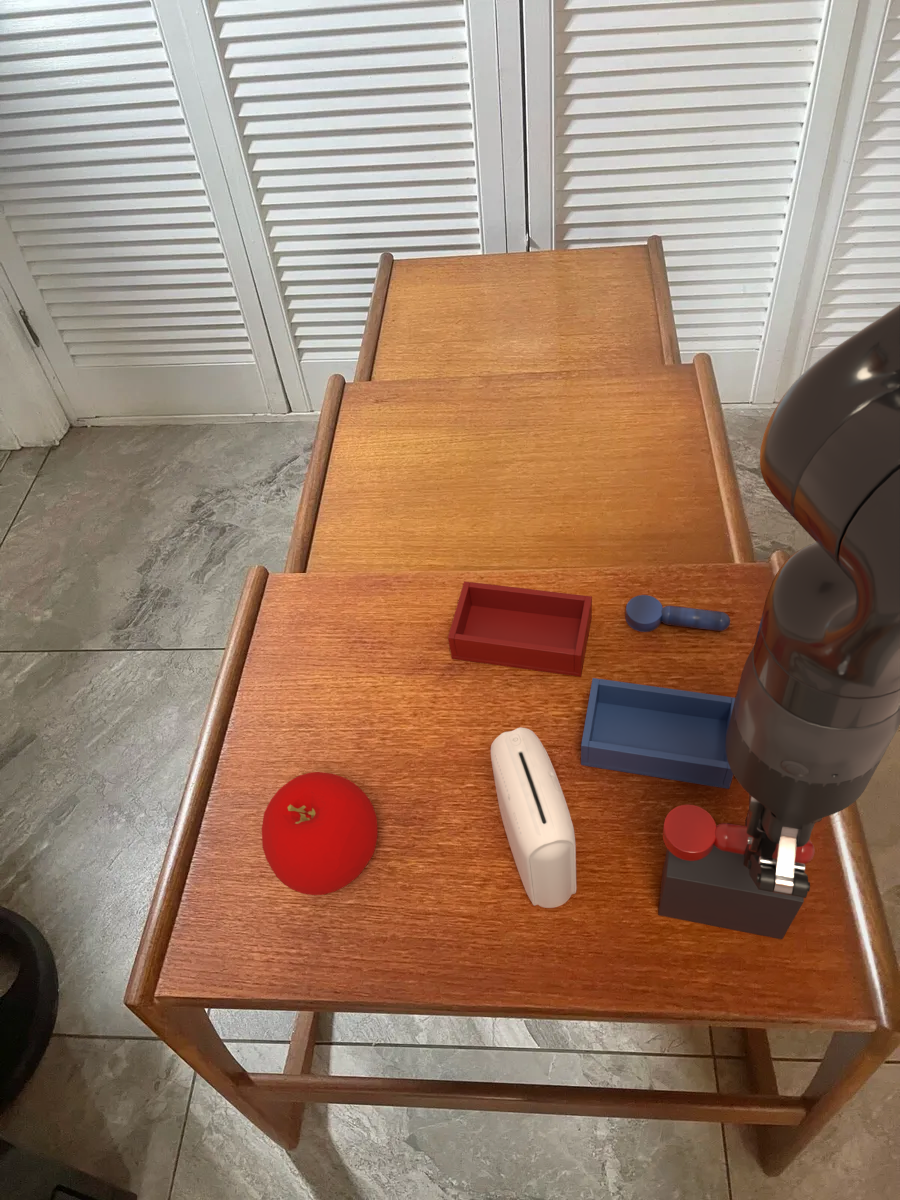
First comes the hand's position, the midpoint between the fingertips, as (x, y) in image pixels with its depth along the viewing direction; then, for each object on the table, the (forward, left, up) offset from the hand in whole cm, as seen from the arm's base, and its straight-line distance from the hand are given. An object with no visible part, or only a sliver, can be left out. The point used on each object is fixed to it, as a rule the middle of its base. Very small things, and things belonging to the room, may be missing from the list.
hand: (761, 846), depth 59 cm
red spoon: (+2, 0, 0) cm, 2 cm away
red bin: (+21, -22, -12) cm, 32 cm away
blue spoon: (+7, -26, -12) cm, 29 cm away
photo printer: (+16, -2, -12) cm, 20 cm away
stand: (+1, 0, -12) cm, 12 cm away
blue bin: (+7, -13, -12) cm, 19 cm away
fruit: (+32, +2, -12) cm, 34 cm away
